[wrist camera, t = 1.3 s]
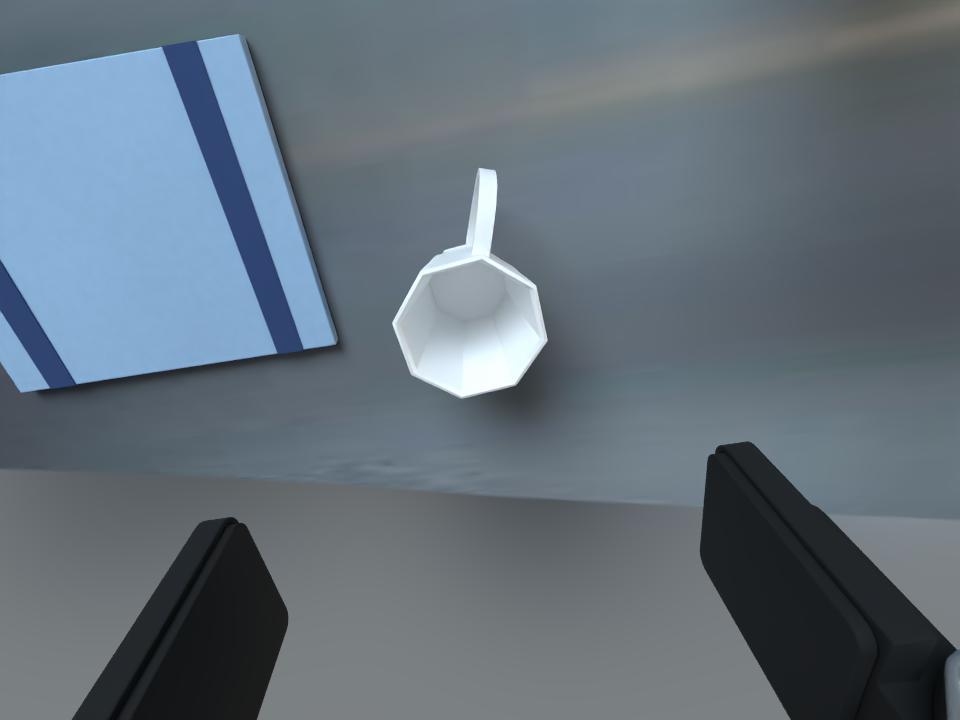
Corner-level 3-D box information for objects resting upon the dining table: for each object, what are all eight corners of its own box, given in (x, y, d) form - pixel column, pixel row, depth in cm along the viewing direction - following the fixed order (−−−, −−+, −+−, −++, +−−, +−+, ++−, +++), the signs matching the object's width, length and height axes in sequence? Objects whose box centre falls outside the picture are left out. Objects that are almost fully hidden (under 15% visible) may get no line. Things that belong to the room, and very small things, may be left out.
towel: (-156, 105, 23) (-178, 104, 22) (245, 36, 23) (237, 33, 22) (30, 386, 30) (19, 394, 30) (338, 339, 30) (335, 345, 29)
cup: (404, 326, 30) (387, 392, 22) (417, 153, 25) (402, 166, 18) (515, 339, 30) (533, 406, 23) (546, 172, 26) (581, 192, 19)
